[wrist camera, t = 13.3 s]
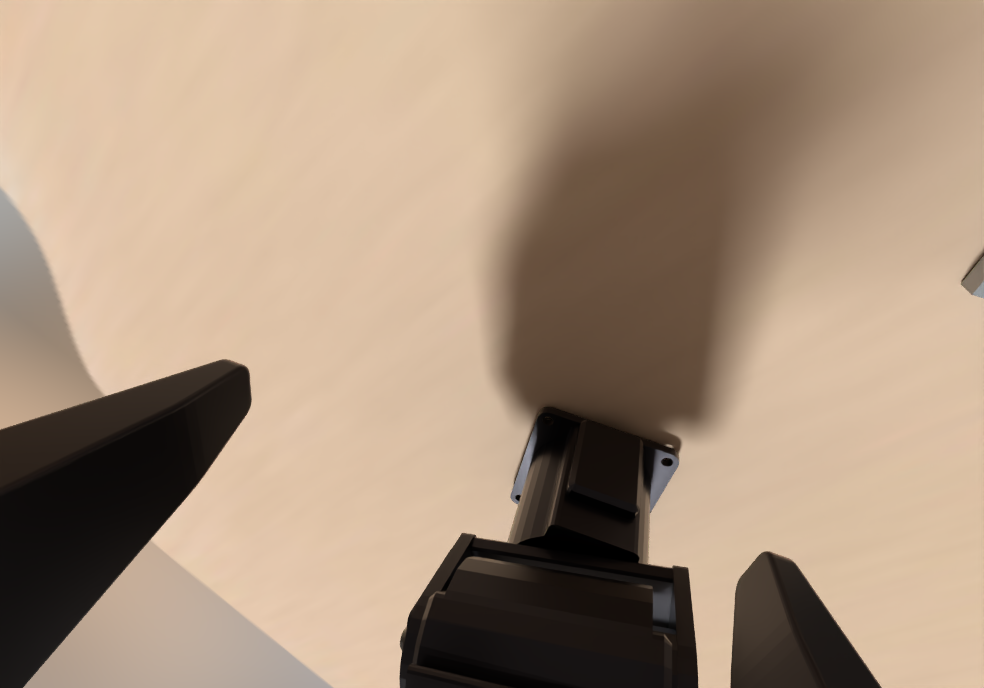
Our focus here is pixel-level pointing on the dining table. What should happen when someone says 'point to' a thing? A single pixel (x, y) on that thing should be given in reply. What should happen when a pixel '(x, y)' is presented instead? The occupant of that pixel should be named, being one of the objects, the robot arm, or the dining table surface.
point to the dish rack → (975, 280)
